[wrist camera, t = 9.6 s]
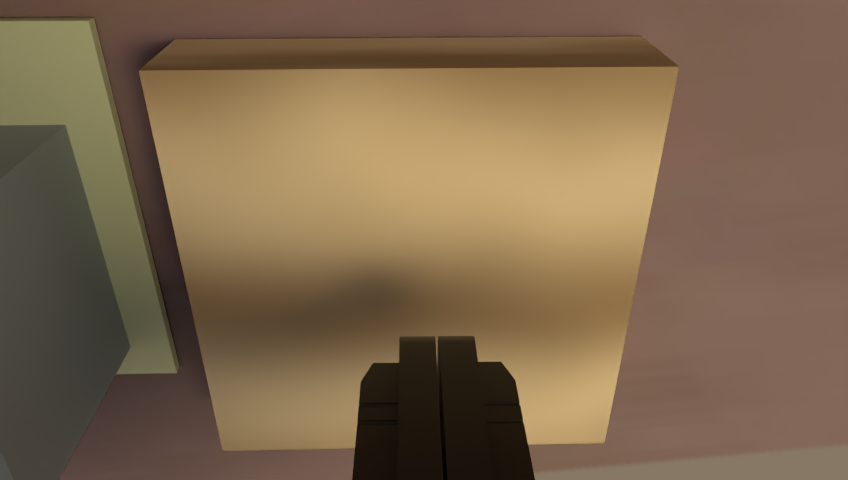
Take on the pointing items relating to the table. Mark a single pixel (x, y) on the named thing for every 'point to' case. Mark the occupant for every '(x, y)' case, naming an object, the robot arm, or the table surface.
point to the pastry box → (50, 305)
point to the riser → (407, 216)
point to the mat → (90, 163)
